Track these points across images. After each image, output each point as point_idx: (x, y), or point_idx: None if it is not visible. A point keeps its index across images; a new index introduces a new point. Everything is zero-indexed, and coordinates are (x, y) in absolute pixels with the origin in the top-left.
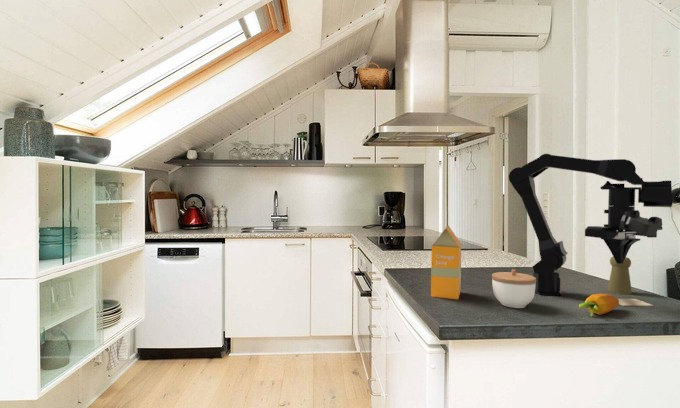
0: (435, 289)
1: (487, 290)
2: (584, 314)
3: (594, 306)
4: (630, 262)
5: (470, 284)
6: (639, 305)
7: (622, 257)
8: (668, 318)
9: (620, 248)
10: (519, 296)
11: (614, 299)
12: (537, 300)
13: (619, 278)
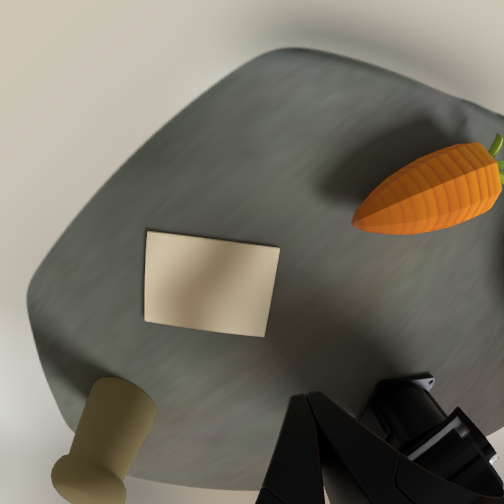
0: None
1: (485, 395)
2: None
3: (499, 148)
4: (58, 466)
5: None
6: (206, 238)
7: (328, 427)
8: (250, 78)
9: (441, 479)
10: None
11: (427, 169)
12: (478, 322)
13: (122, 431)
